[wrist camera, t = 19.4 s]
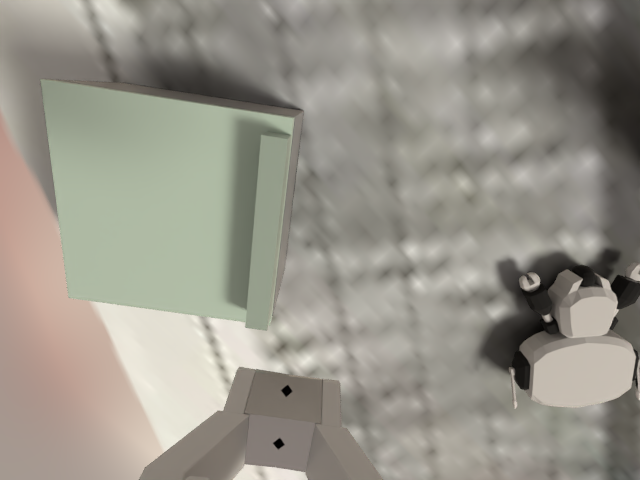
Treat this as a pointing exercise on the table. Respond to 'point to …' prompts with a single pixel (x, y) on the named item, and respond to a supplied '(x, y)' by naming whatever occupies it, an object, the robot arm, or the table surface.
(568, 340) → the robot toy
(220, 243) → the lid
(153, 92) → the housing
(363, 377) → the table surface
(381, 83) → the table surface
